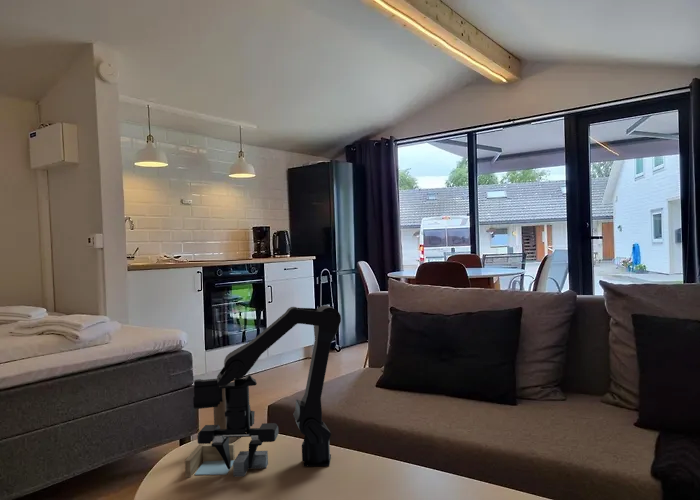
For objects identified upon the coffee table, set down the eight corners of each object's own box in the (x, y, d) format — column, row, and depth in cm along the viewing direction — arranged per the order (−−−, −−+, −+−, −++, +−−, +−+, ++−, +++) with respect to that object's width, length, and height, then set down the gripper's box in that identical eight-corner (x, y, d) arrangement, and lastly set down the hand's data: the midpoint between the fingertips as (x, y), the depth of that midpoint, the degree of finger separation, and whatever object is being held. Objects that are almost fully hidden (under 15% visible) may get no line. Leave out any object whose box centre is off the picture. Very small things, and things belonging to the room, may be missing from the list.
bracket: (240, 465, 131) (240, 451, 131) (268, 464, 131) (267, 450, 131) (233, 477, 124) (233, 462, 124) (262, 476, 124) (262, 461, 124)
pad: (235, 461, 133) (235, 460, 133) (226, 474, 125) (226, 473, 125) (204, 461, 134) (204, 461, 134) (194, 475, 126) (194, 474, 126)
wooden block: (244, 435, 152) (242, 374, 152) (223, 449, 142) (220, 383, 142) (233, 434, 153) (231, 373, 154) (211, 447, 143) (209, 382, 143)
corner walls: (234, 458, 135) (234, 443, 135) (223, 476, 124) (222, 459, 124) (199, 459, 135) (199, 444, 135) (185, 477, 124) (185, 460, 125)
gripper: (280, 394, 134) (283, 454, 134) (209, 396, 135) (211, 456, 134) (273, 407, 123) (275, 472, 123) (195, 409, 123) (197, 474, 123)
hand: (239, 468), depth 126 cm, fingers open, 5 cm apart
